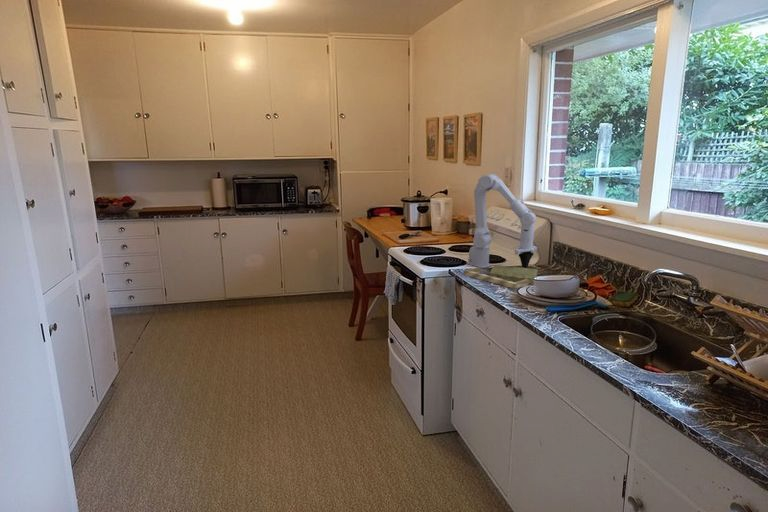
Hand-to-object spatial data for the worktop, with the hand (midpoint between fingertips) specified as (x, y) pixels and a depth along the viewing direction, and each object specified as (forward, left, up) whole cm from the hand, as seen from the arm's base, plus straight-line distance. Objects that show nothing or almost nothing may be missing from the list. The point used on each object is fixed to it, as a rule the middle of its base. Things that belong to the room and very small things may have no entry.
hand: (524, 267), depth 220 cm
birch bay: (0, -21, -2) cm, 21 cm away
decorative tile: (+2, -12, -3) cm, 13 cm away
